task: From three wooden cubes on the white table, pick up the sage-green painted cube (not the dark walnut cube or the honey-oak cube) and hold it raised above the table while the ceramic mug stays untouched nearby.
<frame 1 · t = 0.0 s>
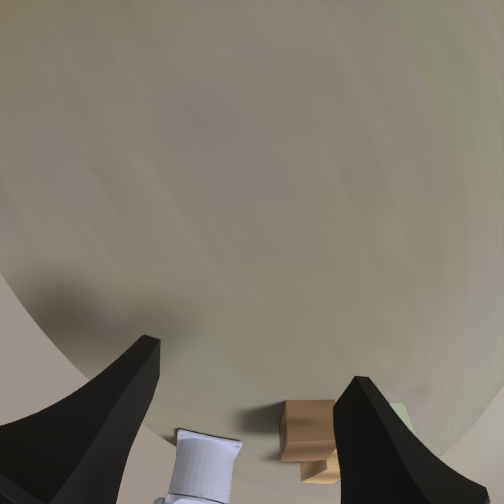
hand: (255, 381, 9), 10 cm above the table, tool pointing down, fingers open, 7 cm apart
sage block: (375, 415, 26), on the table
oak block: (325, 446, 29), on the table
walnut block: (305, 412, 25), on the table
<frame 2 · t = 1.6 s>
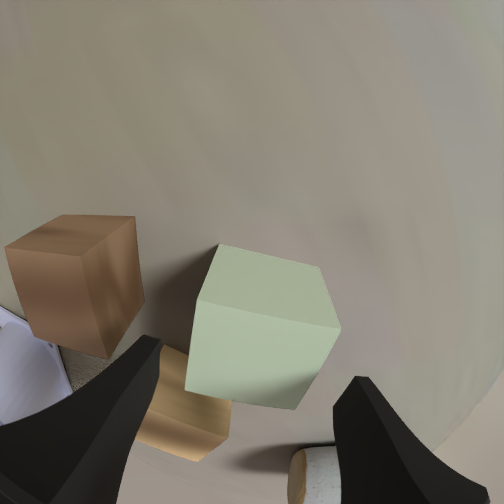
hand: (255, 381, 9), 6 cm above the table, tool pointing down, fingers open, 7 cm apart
sage block: (257, 297, 14), on the table
oak block: (187, 379, 17), on the table
walnut block: (101, 257, 14), on the table
ceramic mug: (329, 452, 22), on the table
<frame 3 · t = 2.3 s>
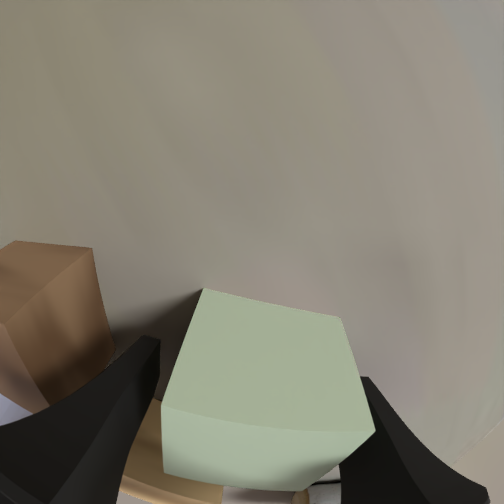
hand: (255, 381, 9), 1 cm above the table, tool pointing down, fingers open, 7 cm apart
sage block: (257, 352, 11), on the table
oak block: (175, 427, 14), on the table
walnut block: (61, 295, 10), on the table
ceramic mug: (334, 486, 18), on the table
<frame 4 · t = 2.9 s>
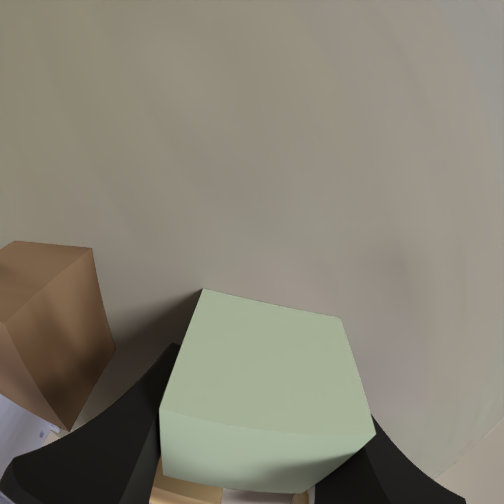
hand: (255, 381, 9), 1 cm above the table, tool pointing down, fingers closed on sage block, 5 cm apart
sage block: (256, 354, 10), on the table, touching gripper
oak block: (175, 427, 14), on the table
walnut block: (61, 295, 10), on the table
ceramic mug: (333, 486, 18), on the table
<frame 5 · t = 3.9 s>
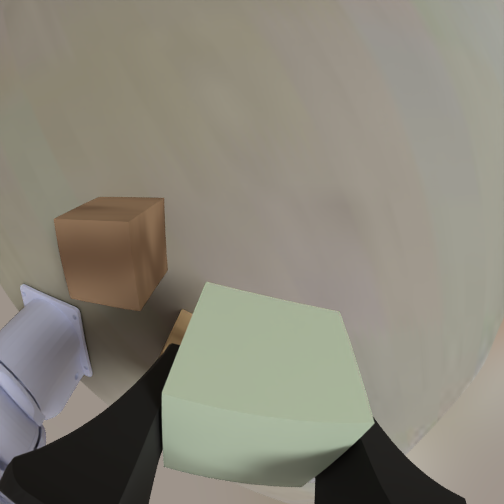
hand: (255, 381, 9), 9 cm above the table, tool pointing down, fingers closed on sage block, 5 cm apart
sage block: (258, 348, 11), point 8 cm above the table, touching gripper
oak block: (200, 343, 21), on the table
walnut block: (132, 233, 18), on the table
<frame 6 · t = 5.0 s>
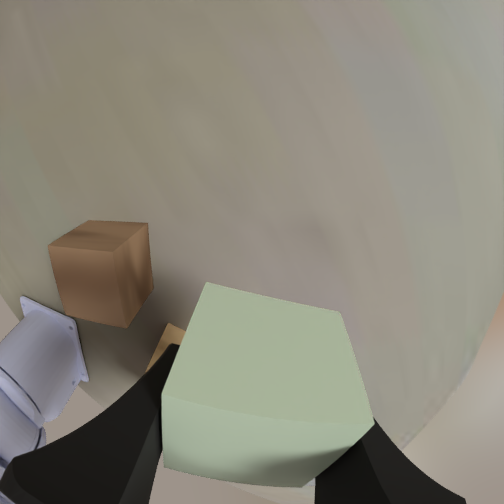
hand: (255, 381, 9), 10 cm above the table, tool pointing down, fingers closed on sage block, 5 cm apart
sage block: (258, 348, 11), point 8 cm above the table, touching gripper
oak block: (186, 354, 22), on the table
walnut block: (120, 254, 19), on the table
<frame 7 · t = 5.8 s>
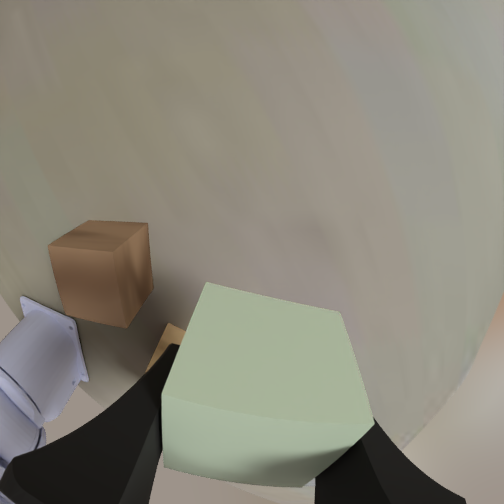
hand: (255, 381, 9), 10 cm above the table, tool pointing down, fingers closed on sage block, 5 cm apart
sage block: (258, 348, 11), point 8 cm above the table, touching gripper
oak block: (186, 354, 22), on the table
walnut block: (120, 254, 19), on the table
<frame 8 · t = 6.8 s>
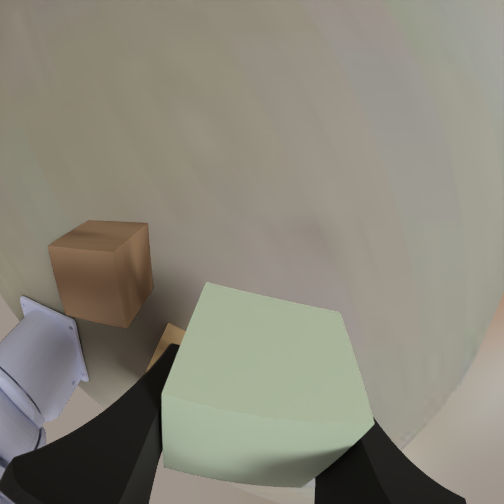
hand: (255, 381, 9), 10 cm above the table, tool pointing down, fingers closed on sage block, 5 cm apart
sage block: (258, 348, 11), point 8 cm above the table, touching gripper
oak block: (186, 354, 22), on the table
walnut block: (120, 254, 19), on the table
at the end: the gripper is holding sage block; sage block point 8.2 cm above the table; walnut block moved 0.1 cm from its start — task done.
